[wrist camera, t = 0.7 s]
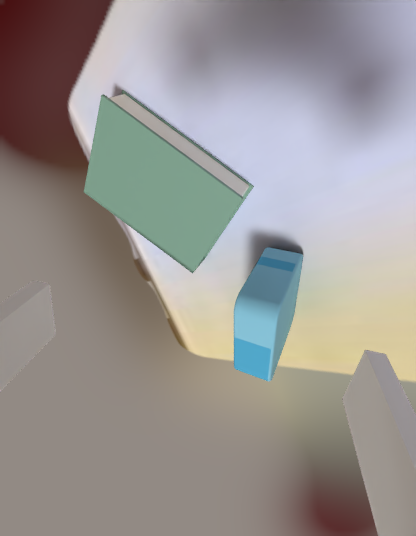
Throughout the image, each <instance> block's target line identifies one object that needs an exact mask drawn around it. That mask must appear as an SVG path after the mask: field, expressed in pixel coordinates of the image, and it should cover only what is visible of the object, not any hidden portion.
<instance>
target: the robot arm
mask: <svg viewBox="0 0 416 536" xmlns="http://www.w3.org/2000/svg"><path fill="white" fill-rule="evenodd" d="M55 334H56V332H55V323H54V315H53V307H52V298H51V291H50V284H49V283H44V282H39V281H35V280H33V281H31V282H30V283H28V284H27V285H26V286H24V287H23V288H21V289H20V290H18V291H17V292H15V293H14V294H13V295H11V296H10V297H8V298H7V299H5V300H4V301H3V302H1V303H0V391H1V390H2V389H3V388H4V387H5V386H6V385H7V384H8V383H9V382H10V381H11V380H12V379H13V378H14V377H15V376H16V375H17V374H18V373H19V372H20V371H21V370H22V369H23V368H24V367H25V366H26V365H27V364H28V363H29V362H30V360H31V359H32V358H33V357H34V356H35V355H36V354H37V353H38V352H39V351H40V350H41V349H42V348H43V347H44V346H45V345H46V344H47V343H48V342H49V341H50V340H51V339H52V338H53V337H54V336H55ZM342 400H343V404H344V408H345V411H346V415H347V419H348V423H349V426H350V430H351V434H352V438H353V442H354V446H355V449H356V453H357V457H358V461H359V464H360V468H361V472H362V475H363V480H364V483H365V487H366V491H367V495H368V499H369V502H370V506H371V510H372V514H373V517H374V521H375V525H376V529H377V533H378V536H416V414H415V412H414V410H413V408H412V406H411V404H410V402H409V400H408V398H407V396H406V394H405V392H404V390H403V388H402V386H401V384H400V382H399V380H398V378H397V376H396V374H395V372H394V370H393V368H392V366H391V364H390V362H389V360H388V358H387V356H386V354H383V353H378V352H373V351H369V350H365V351H364V354H363V356H362V358H361V360H360V362H359V364H358V366H357V369H356V371H355V373H354V375H353V377H352V379H351V381H350V384H349V386H348V388H347V390H346V392H345V394H344V396H343V399H342Z"/></svg>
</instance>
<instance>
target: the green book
mask: <svg viewBox="0 0 416 536" xmlns="http://www.w3.org/2000/svg"><path fill="white" fill-rule="evenodd" d="M253 187H254V186H253V185H251V184H250V183H249V182H247V181H246V180H245V179H243V178H242V177H241V176H239V175H238V174H237V173H235V172H234V171H232V170H231V169H230V168H228V167H227V166H226V165H224V164H223V163H222V162H220V161H219V160H217V159H216V158H215V157H213V156H212V155H211V154H209V153H208V152H207V151H205V150H204V149H203V148H201V147H200V146H198V145H197V144H196V143H194V142H193V141H192V140H190V139H189V138H188V137H186V136H185V135H184V134H182V133H181V132H179V131H178V130H177V129H175V128H174V127H173V126H171V125H170V124H169V123H167V122H166V121H165V120H163V119H162V118H160V117H159V116H158V115H156V114H155V113H154V112H152V111H151V110H150V109H148V108H147V107H145V106H144V105H143V104H141V103H140V102H139V101H137V100H136V99H135V98H133V97H132V96H131V95H129V94H128V93H126V92H125V91H124V90H122V94H121V95H118V96H114V97H110V98H108V97H107V96H105V95H101V101H100V106H99V112H98V117H97V123H96V128H95V134H94V139H93V145H92V150H91V156H90V161H89V167H88V172H87V178H86V183H85V189H84V193H86V194H87V195H88V196H90V197H91V198H93V199H94V200H95V201H97V202H98V203H99V204H101V205H102V206H103V207H105V208H106V209H107V210H109V211H110V212H111V213H113V214H114V215H115V216H117V217H118V218H119V219H121V220H122V221H123V222H125V223H126V224H127V225H129V226H130V227H131V228H133V229H134V230H135V231H137V232H138V233H139V234H141V235H142V236H143V237H145V238H146V239H147V240H149V241H150V242H151V243H153V244H154V245H155V246H157V247H158V248H159V249H161V250H162V251H164V252H165V253H166V254H168V255H169V256H170V257H172V258H173V259H174V260H176V261H177V262H178V263H180V264H181V265H182V266H184V267H185V268H186V269H188V270H189V271H190V272H192V273H193V272H194V271H195V270H196V269H197V267H198V266H199V265H200V264H201V263H202V261H203V260H204V259H205V257H206V256H207V255H208V253H209V252H210V250H211V249H212V247H213V246H214V244H215V243H216V241H217V240H218V238H219V237H220V235H221V234H222V232H223V231H224V229H225V228H226V226H227V225H228V224H229V222H230V221H231V219H232V218H233V216H234V215H235V213H236V212H237V210H238V209H239V207H240V206H241V204H242V203H243V201H244V200H245V198H246V197H247V195H248V194H249V193H250V191H251V190H252V188H253Z"/></svg>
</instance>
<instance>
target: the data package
mask: <svg viewBox="0 0 416 536" xmlns="http://www.w3.org/2000/svg"><path fill="white" fill-rule="evenodd" d="M302 261H303V255H302V254H300V253H295V252H290V251H285V250H280V249H275V248H270V247H267V248H266V249H265V250H264V252H263V253H262V255H261V257H260V259H259V260H258V262H257V264H256V265H255V267H254V269H253V270H252V272H251V274H250V275H249V277H248V279H247V281H246V282H245V284H244V286H243V287H242V289H241V291H240V292H239V294H238V297H237V299H236V303H235V307H234V367H235V369H236V370H239V371H242V372H244V373H247V374H250V375H253V376H255V377H258V378H261V379H264V380H266V381H271V380H272V378H273V375H274V372H275V369H276V367H277V364H278V361H279V358H280V355H281V353H282V350H283V347H284V344H285V341H286V338H287V336H288V333H289V330H290V327H291V324H292V321H293V317H294V312H295V305H296V299H297V293H298V286H299V280H300V274H301V268H302Z"/></svg>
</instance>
